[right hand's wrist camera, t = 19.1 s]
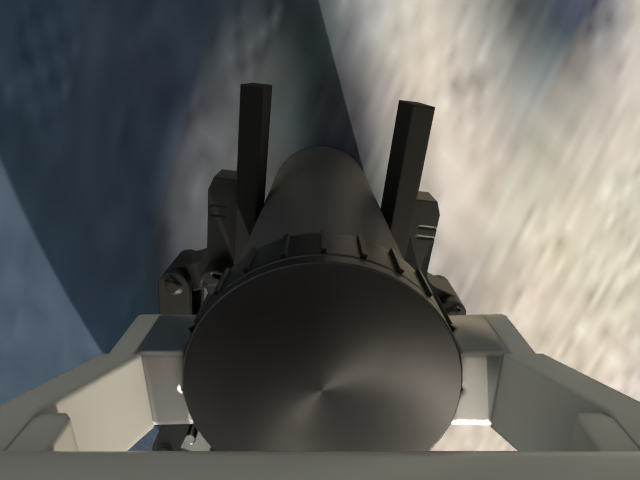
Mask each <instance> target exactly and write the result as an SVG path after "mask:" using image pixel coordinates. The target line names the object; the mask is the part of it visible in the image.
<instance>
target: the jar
mask: <svg viewBox="0 0 640 480" xmlns="http://www.w3.org/2000/svg"><path fill="white" fill-rule="evenodd" d="M321 230H326V233H335V234H343V235H350V236H354V237H357V235H358V234H360V235H363V239H365V240H368V241H370V242H373V243H375V244H378V245H380V246H382V247H384V248H386V249H388V250H390V249H391V248H393V249H395V250H396V252H397V255H398V256H399V257H400V258H402V259H403V257H402V255H401V253H400V251H399V248H398V246H397V244H396V242H395V240H394V238H393V235H392V233H391V231H390V229H389V227H388V225H387V222H386V220H385V218H384V216H383V214H382V212H381V209H380V207H379V205H378V203H377V201H376V199H375V196H374V194H373V192H372V190H371V188H370V186H369V183H368V181H367V179H366V177H365V175H364V173H363V171H362V169H361V167H360V166H359V164H358V163H357V162H356V161H355V160H354V159H353V158H352V157H351V156H350V155H348V154H347V153H345V152H343V151H342V150H339V149H337V148H333V147H329V146H313V147H308V148H305V149H302V150H300V151H298V152H296V153H295V154H293V155H292V156H291V157H289V158H288V159H287V160H286V161H285V163H284V164H283V165H282V167H281V168H280V170H279V172H278V174H277V176H276V178H275V181H274V183H273V185H272V187H271V190H270V192H269V194H268V197H267V199H266V201H265V203H264V206H263V208H262V210H261V212H260V215H259V217H258V219H257V221H256V224H255V226H254V228H253V230H252V233H251V235H250V237H249V240H248V242H247V244H246V246H245V249H244V251H243V253H242V255H241V258H240V260H241V259H243V258H244V257H245V256H247V255H248V254H249V252H250V249H251V248H253V247H255V248H256V249H259V248H260V247H262V246H264V245H267V244H269V243H272V242H274V241H277V240H279V239H283V237H284V235H285V234H289V236H290V237H291V236H295V235H301V234H309V233H321ZM240 260H239V261H240ZM403 260H404V259H403Z"/></svg>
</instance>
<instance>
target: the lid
mask: <svg viewBox="0 0 640 480" xmlns="http://www.w3.org/2000/svg"><path fill="white" fill-rule="evenodd" d="M193 322H194V323H196V324H197V325H196V327H195V329H194V331H193V333H192V335H191V337H190V340H189V342H188V345H187V348H186V351H185V355H184V361H183V366H182V384H183V392H184V398H185V401H186V405H187V408H188V411H189V414H190V416H191V418H192V420H193V422H194V424H195V426H196V427H197V429H198V431H199V432H200V434H201V435H202V437H203V438H204V439H205V440H206V441H207V443H208V444H209V445H210V446H211V447H212V448H213V449H214V450H215V451H430V450H431V449H432V448H433V447H434V446H435V444H436V443H437V442H438V441H439V440H440V439H441V437H442V436H443V434H444V433H445V431H446V430H447V428H448V427H449V425H450V423H451V421H452V419H453V417H454V415H455V413H456V410H457V407H458V404H459V400H460V397H461V390H462V383H463V372H462V362H461V356H460V351H459V348H458V345H457V342H456V340H455V337H454V335H453V333H452V331H451V329H450V327H449V325H451V324H452V322H451V320H450V318H449V316H448V314H447V312H446V310H445V309H444V307H443V305H442V303H441V301H440V299H439V297H438V296H437V295H435V296H433V293H432V291H431V289H430V287H429V285H428V283H427V281H426V279H425V277H424V276H423V274H422V272H421V271H420V269H417V270H416V271H415V270H414V269H413V268H412V267H411V266H410V265H409V264H408V263H407V262H406V261H404V260H403V259H402V258H400V257H399V256H398V255H397V252H396V250H395V249H393V248H391V249H390V250H388V249H386V248H384V247H382V246H380V245H378V244H375V243H373V242H370V241H368V240H365V239H363V235H360V234H358V235H357V237H354V236H350V235H343V234H335V233H326V230H321V233H309V234H301V235H295V236H291V237H290V236H289V234H285V235H284V237H283V239H279V240H277V241H274V242H272V243H269V244H267V245H264V246H262V247H260V248H259V249H256V248H255V247H253V248H251V249H250V252H249V254H248V255H247V256H245V257H244V258H243V259H241V260H240V261H239V262H237V263H236V264H235V265H234V266H233V267H232V268H231V269H229V268H228V267H227V268H226V269H225V270H224V272H223V274H222V276H221V278H220V280H219V282H218V284H217V286H216V288H215V290H214V291H213V293H212V294H209V293H208V294H207V296H206V298H205V300H204V302H203V304H202V306H201V308H200V310H199V312H198V313H197V315H196V317H195V319H194V321H193Z"/></svg>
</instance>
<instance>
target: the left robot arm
mask: <svg viewBox="0 0 640 480" xmlns="http://www.w3.org/2000/svg"><path fill="white" fill-rule="evenodd" d="M271 95H272V85H267V84H258V83H248V84H241V90H240V114H239V138H238V162H237V171H232V170H223V169H222V170H221V171H220V172H219V173H218V174H217V175H216V176H215V177H214V178H213V181H212V183H211V185H210V187H209V189H208V237H207V248H205V249H202V250H198V251H194V250H191V249H189V250H184V251H182V252H180V254H179V255H178V256H177V257H176V259H175V260H174V261H173V262H172V264H171V265H170V266H169V267H168V269H167V270H166V271H165V273H164V274H163V275H162V277H161V278H160V279H159V283H158V295H159V314H162V315H163V314H168V315H197V313H198V312H199V310H200V308H201V306H202V304H203V302H204V289H205V288H207V291H208V293H209V294H212V293H213V291H214V290H215V288H216V286H217V284H218V282H219V280H220V278H221V276H222V274H223V272H224V270H225V269H226V268H227V267H228V268H229V269H231V268H232V267H233V266H234V265H235V264H236V263H237V262H239V260H240V258H241V255H242V253H243V251H244V249H245V246H246V244H247V242H248V240H249V237H250V235H251V233H252V230H253V228H254V226H255V224H256V221H257V219H258V217H259V215H260V212H261V210H262V208H263V206H264V200H265V185H266V170H267V155H268V140H269V125H270V110H271ZM434 110H435V107H432V106H429V105H425V104H422V103H419V102H411V101H403V100H399V104H398V110H397V116H396V122H395V128H394V133H393V139H392V145H391V151H390V157H389V163H388V169H387V175H386V181H385V186H384V192H383V198H382V204H381V212H382V214H383V216H384V218H385V220H386V222H387V225H388V227H389V229H390V231H391V233H392V235H393V238H394V240H395V242H396V244H397V246H398V248H399V251H400V253H401V255H402V257H403V259H404V261H406V262H407V263H408V264H409V265H410V266H411V267H412V268H413V269H414V270H415V271H416V270H417V269H420V271H421V272H422V274H423V276H424V277H425V279H426V281H427V283H428V285H429V287H430V289H431V291H432V293H433V296H435V295H437V296H438V297H439V299H440V301H441V303H442V305H443V307H444V309H445V310H446V312H447V314H448V315H466V310H465V308H464V306H463V304H462V302H461V301H460V299H459V297H458V296H457V294H456V293H455V291H454V289H453V288H452V286H451V285H450V283H449V281H448V280H447V279H446V278H445V277H443V276H440V275H435V276H434V275H432V274H430V273H428V272H427V270H428V265H429V261H430V256H431V252H432V247H433V243H434V238H435V234H436V228H437V225H438V221H439V216H440V214H439V208H438V203H437V201H436V200H435V199H434V198H433V197H432V195H431V194H430V193H429V192H421V191H418V190H419V185H420V180H421V175H422V170H423V165H424V160H425V155H426V150H427V145H428V140H429V135H430V130H431V125H432V120H433V115H434ZM180 448H183V449H186V450H189V451H215V450H214V449H213V448H212V447H211V446H210V445H209V444H208V443H207V441H206V440H205V439H204V438H203V437H202V435H201V434H200V432H199V431H198V429H197V427H196V426H195V424H194V423H193V424H165V425H162V426H161V428H160V431H159V433H158V435H157V437H156V440H155V442H154V444H153V451H179V450H180Z"/></svg>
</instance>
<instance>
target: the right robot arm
mask: <svg viewBox="0 0 640 480" xmlns="http://www.w3.org/2000/svg"><path fill="white" fill-rule="evenodd" d="M448 316H449V318H450V320H451V322H452V324H451V325H449V327H450V329H451V331H452V333H453V335H454V337H455V340H456V342H457V345H458V348H459V351H460V356H461V362H462V372H463V383H462V390H461V397H460V400H459V404H458V407H457V410H456V413H455V415H454V417H453V419H452V421H451V424H479V425H491V427H492V428H493V429H494V430H495V431H496V432H497V433H498V434H500V435H501V436H502V437H503V438H504V439H505V440H506V441H507V442H509V443H510V444H511V445H512V446H513V447H514V448H515V449H516V450H518V451H127V450H128V449H129V448H131V447H132V446H133V445H134V444H135V443H136V442H137V441H138V440H140V439H141V438H142V437H143V436H144V435H145V434H146V433H147V432H149V431H150V430H151V429H152V428H153V427H154V426H153V425H165V424H193V423H194V422H193V420H192V418H191V416H190V414H189V411H188V408H187V405H186V401H185V398H184V392H183V384H182V366H183V361H184V355H185V351H186V348H187V345H188V342H189V340H190V337H191V335H192V333H193V331H194V329H195V327H196V325H197V324H196V323H194V322H193V321H194V319H195V317H196V315H168V314H163V315H162V314H142V315H138V316H137V318H136V319H135V320H134V321H133V323H132V324H131V325H130V327H129V328H128V329H127V331H126V332H125V333H124V335H123V336H122V337H121V338H120V340H119V341H118V342H117V344H116V345H115V346H114V348H113V349H112V350H111V352H110V353H109V354H101V355H99V356H97V357H95V358H93V359H91V360H89V361H87V362H85V363H83V364H81V365H79V366H77V367H75V368H73V369H71V370H69V371H67V372H65V373H63V374H61V375H59V376H57V377H55V378H53V379H51V380H49V381H47V382H45V383H43V384H41V385H39V386H37V387H35V388H33V389H31V390H29V391H27V392H25V393H23V394H21V395H19V396H17V397H15V398H13V399H11V400H9V401H7V402H5V403H3V404H1V405H0V480H640V402H639V401H637V400H635V399H633V398H631V397H629V396H627V395H625V394H622V393H620V392H618V391H616V390H614V389H612V388H610V387H608V386H606V385H604V384H602V383H600V382H598V381H596V380H594V379H592V378H590V377H588V376H586V375H584V374H582V373H580V372H578V371H576V370H574V369H572V368H570V367H568V366H566V365H564V364H562V363H560V362H558V361H556V360H554V359H552V358H550V357H548V356H546V355H544V354H536V353H535V352H534V351H533V350H532V348H531V347H530V346H529V344H528V343H527V342H526V341H525V339H524V338H523V337H522V335H521V334H520V333H519V332H518V330H517V329H516V328H515V327H514V325H513V324H512V323H511V321H510V320H509V319H508V318H507V316H505V315H503V314H487V315H448Z"/></svg>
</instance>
